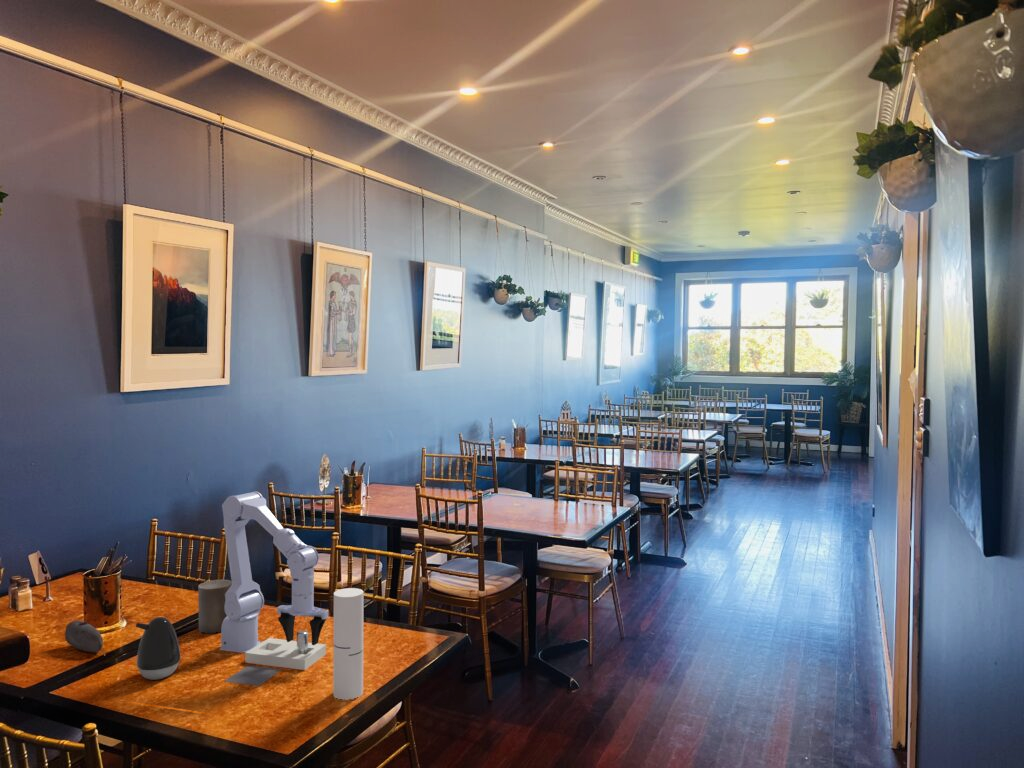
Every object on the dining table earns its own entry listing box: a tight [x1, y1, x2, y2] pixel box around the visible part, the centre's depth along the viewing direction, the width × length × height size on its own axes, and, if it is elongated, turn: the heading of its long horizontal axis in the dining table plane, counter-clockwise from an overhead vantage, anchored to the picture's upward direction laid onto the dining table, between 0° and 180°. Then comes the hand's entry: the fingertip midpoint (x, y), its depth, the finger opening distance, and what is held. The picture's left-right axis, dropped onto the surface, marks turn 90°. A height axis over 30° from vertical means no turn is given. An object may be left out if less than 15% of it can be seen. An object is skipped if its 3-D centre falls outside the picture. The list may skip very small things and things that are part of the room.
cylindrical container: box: [332, 587, 365, 701], centre depth 174 cm, size 7×7×25 cm
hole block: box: [244, 637, 327, 671], centre depth 195 cm, size 18×11×3 cm, turn 75°
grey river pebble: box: [64, 620, 104, 653], centre depth 200 cm, size 15×5×7 cm, turn 57°
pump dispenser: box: [135, 616, 182, 681], centre depth 184 cm, size 10×10×15 cm
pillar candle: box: [197, 579, 232, 634], centre depth 218 cm, size 10×10×15 cm
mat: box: [224, 664, 282, 687], centre depth 184 cm, size 10×10×1 cm
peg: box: [296, 630, 309, 655], centre depth 193 cm, size 3×3×8 cm
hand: (302, 642), depth 193 cm, fingers open, 7 cm apart
